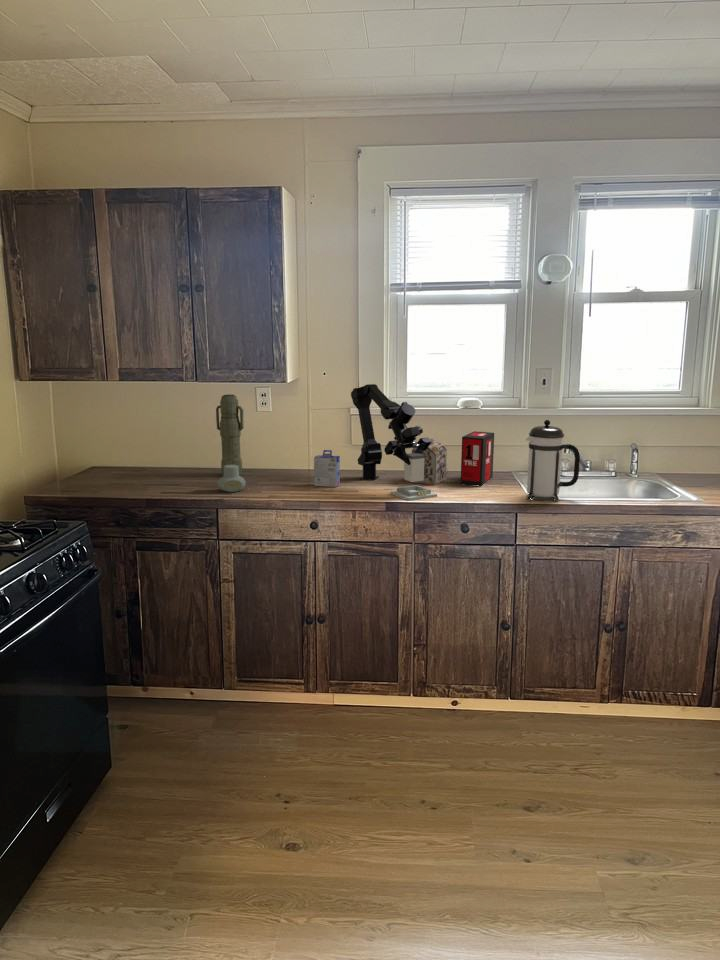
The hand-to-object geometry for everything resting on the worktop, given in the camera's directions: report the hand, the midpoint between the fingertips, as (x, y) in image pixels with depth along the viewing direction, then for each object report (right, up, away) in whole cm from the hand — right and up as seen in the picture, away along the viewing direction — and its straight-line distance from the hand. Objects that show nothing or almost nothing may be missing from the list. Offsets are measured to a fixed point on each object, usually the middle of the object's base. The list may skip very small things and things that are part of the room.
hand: (416, 463), depth 268 cm
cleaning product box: (+28, -7, +27) cm, 40 cm away
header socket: (-1, -12, +4) cm, 13 cm away
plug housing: (-1, -6, +3) cm, 7 cm away
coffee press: (+50, -13, 0) cm, 52 cm away
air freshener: (-72, -11, +11) cm, 74 cm away
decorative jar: (+8, -7, +28) cm, 30 cm away
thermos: (-78, -4, +39) cm, 87 cm away
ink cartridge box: (-35, -9, +20) cm, 41 cm away
